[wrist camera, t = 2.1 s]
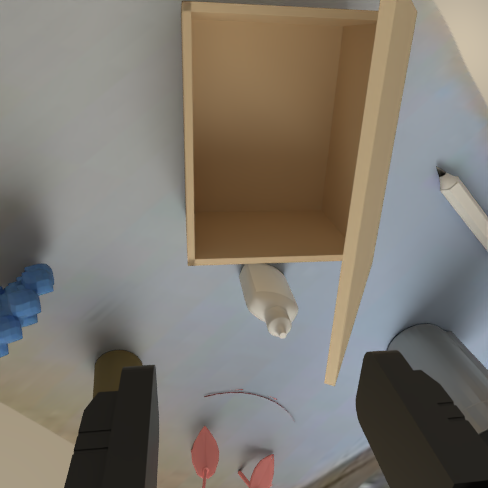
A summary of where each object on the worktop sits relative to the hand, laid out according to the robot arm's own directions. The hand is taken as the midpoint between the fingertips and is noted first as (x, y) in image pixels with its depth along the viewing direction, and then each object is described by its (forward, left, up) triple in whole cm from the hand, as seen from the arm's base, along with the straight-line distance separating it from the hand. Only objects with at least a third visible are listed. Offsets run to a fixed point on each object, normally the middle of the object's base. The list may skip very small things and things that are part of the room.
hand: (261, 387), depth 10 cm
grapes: (+19, +17, -38) cm, 46 cm away
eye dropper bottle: (-8, +18, -38) cm, 42 cm away
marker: (-33, +10, -38) cm, 51 cm away
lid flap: (-10, 0, -18) cm, 20 cm away
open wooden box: (-7, 0, -37) cm, 38 cm away
